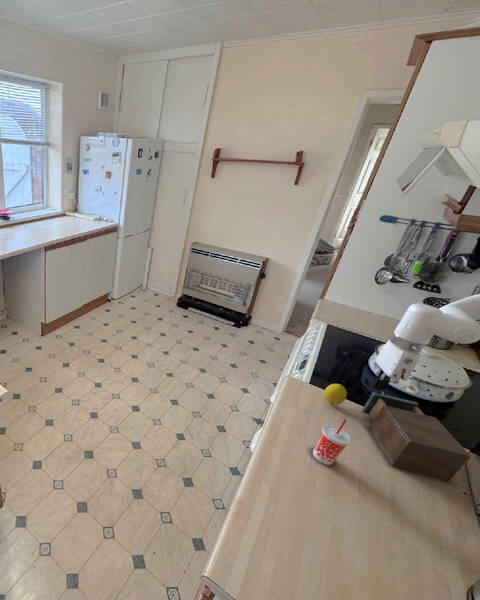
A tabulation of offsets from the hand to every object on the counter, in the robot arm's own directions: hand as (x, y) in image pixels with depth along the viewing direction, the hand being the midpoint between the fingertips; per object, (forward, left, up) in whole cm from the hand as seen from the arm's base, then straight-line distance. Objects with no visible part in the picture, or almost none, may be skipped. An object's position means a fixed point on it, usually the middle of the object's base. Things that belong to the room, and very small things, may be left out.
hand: (377, 387), depth 107 cm
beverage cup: (+24, +33, -6) cm, 41 cm away
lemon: (+14, +7, -6) cm, 17 cm away
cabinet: (0, +22, -6) cm, 23 cm away
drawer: (0, +12, -5) cm, 13 cm away
